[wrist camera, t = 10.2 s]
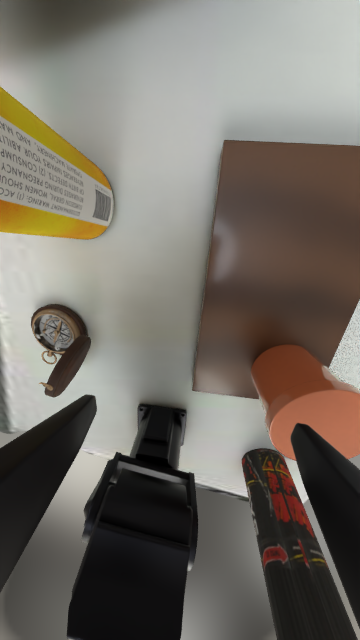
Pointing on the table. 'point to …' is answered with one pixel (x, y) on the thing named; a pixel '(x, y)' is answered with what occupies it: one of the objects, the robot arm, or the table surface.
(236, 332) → the walnut board
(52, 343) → the compass
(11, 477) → the robot arm
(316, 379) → the terracotta pot
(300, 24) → the table surface
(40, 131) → the beer can
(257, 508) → the deodorant
